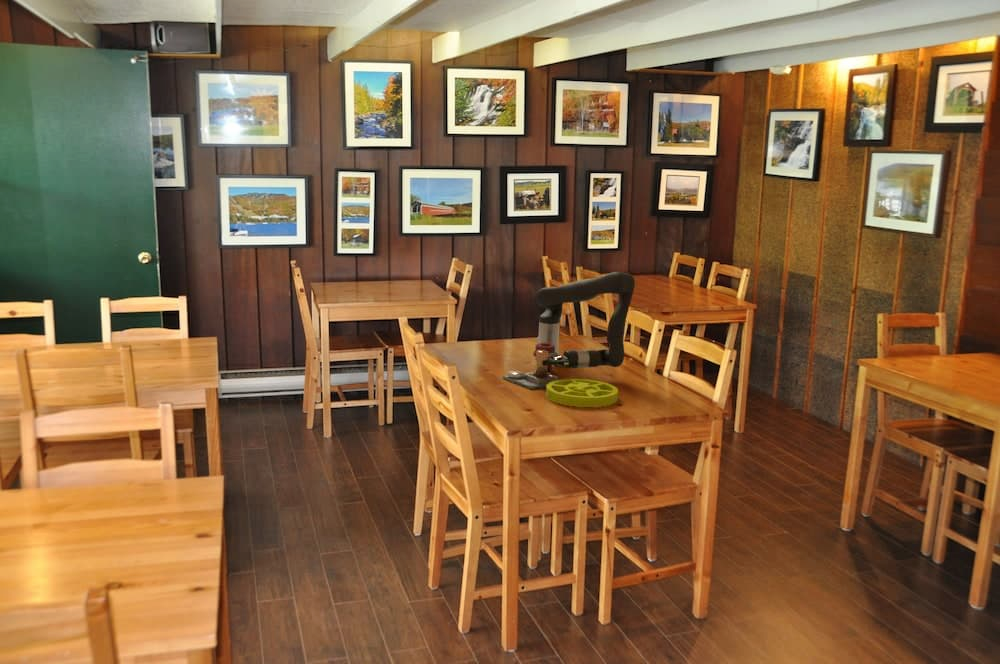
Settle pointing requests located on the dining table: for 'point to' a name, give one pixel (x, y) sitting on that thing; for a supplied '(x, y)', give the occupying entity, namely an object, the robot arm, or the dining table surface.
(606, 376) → the dining table surface
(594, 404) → the pulley
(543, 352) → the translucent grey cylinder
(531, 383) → the carrier plate
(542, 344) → the mechanical component
